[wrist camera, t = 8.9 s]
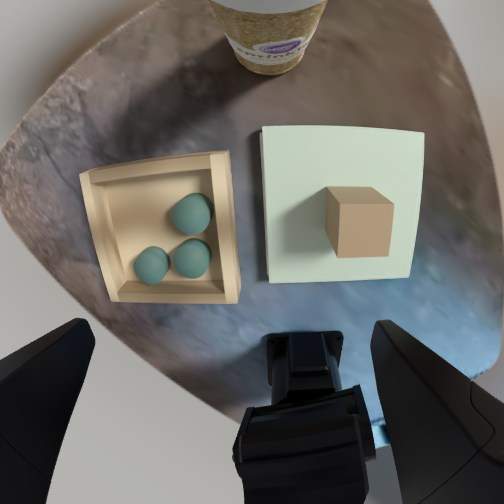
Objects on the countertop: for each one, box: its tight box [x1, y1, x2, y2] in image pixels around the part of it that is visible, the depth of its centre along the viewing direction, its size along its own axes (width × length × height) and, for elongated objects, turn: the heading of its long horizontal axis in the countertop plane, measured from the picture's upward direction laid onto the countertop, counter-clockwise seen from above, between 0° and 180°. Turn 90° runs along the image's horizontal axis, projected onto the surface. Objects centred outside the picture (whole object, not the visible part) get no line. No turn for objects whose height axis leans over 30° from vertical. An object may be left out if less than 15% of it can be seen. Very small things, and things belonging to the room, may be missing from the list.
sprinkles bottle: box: [208, 0, 328, 75], centre depth 9 cm, size 5×5×13 cm
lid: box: [262, 125, 424, 283], centre depth 17 cm, size 11×11×5 cm
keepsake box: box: [79, 150, 241, 304], centre depth 20 cm, size 10×10×2 cm
